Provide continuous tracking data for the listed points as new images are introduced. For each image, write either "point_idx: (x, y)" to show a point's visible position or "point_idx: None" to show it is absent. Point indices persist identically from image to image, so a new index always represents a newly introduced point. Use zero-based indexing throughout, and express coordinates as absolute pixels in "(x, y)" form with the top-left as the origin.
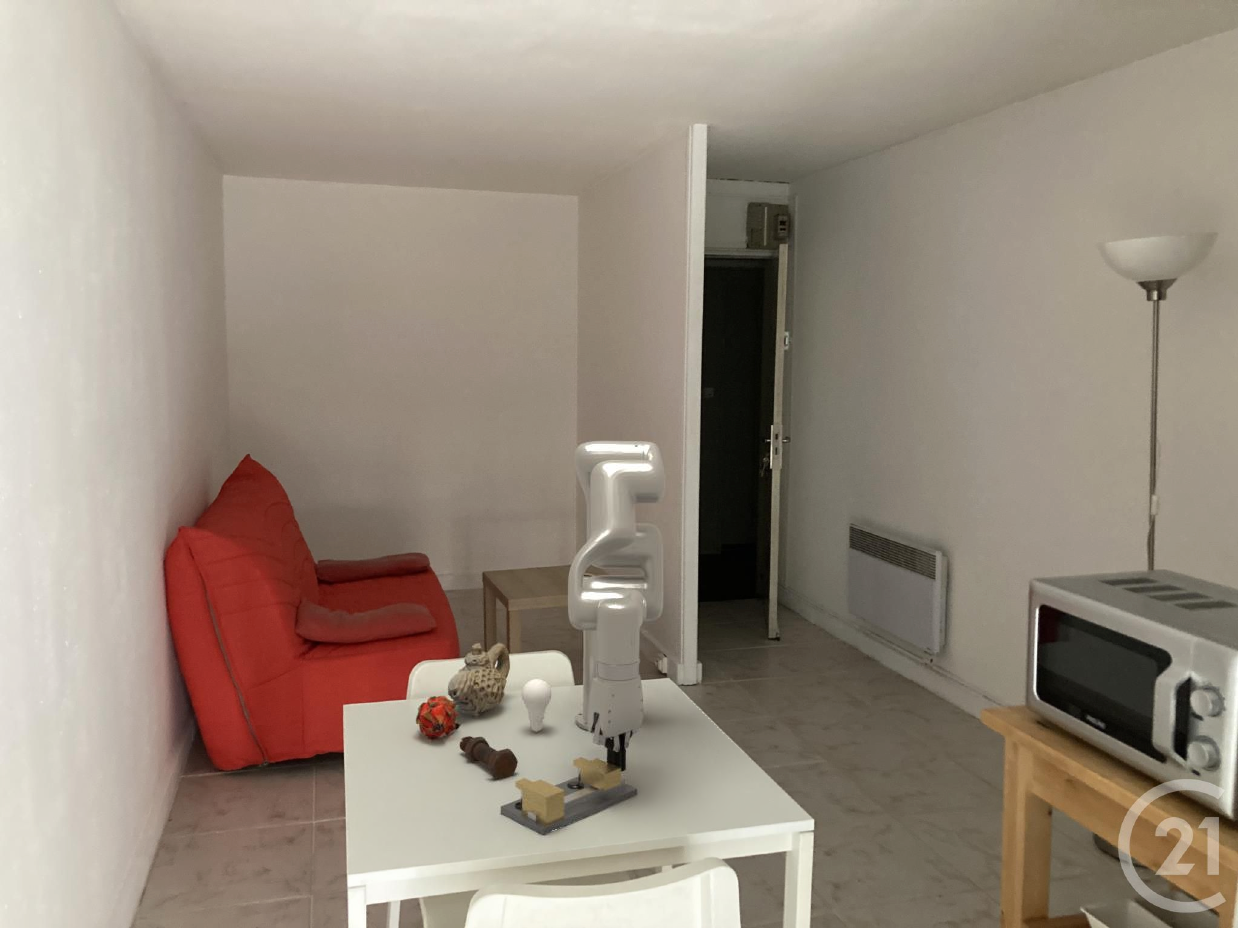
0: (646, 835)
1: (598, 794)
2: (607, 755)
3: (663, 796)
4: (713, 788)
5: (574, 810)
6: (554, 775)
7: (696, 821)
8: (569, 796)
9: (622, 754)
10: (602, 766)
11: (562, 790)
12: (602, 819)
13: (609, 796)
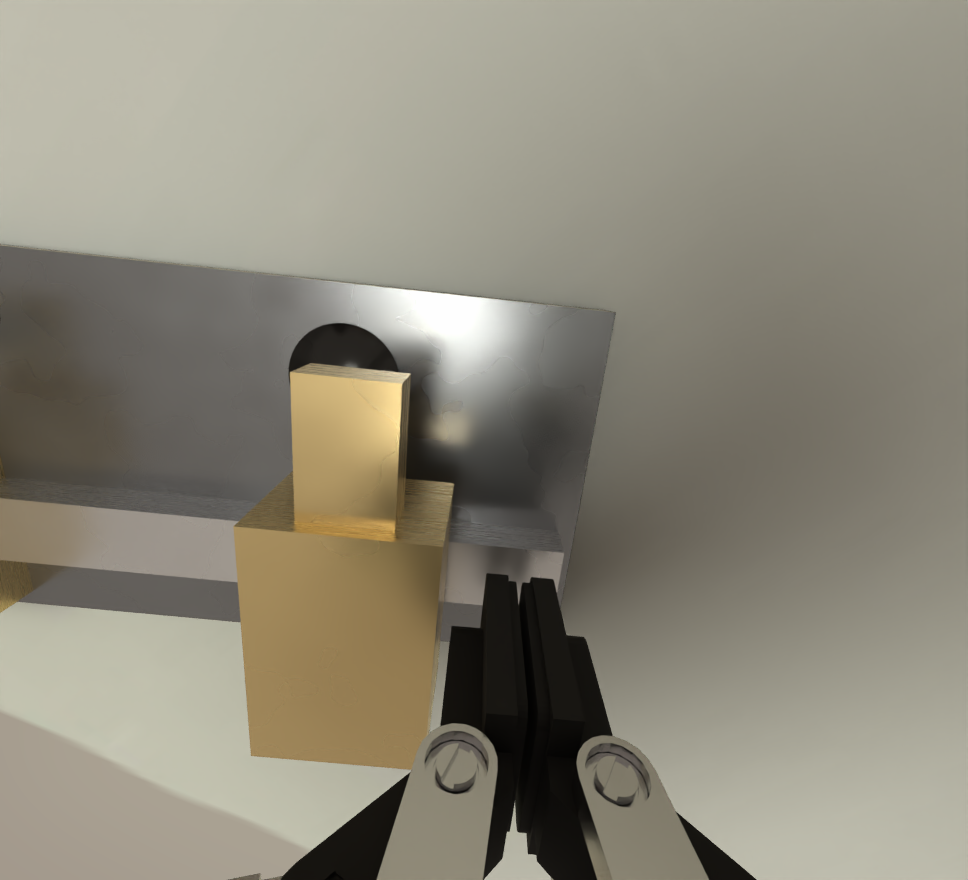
0: (281, 821)
1: None
2: (445, 686)
3: (609, 708)
4: (805, 799)
5: (126, 578)
6: (444, 60)
7: (497, 874)
8: (125, 528)
9: (517, 794)
10: (341, 673)
11: None
12: (241, 653)
13: None
